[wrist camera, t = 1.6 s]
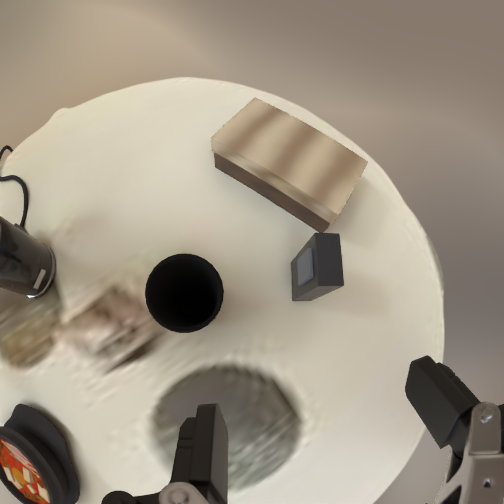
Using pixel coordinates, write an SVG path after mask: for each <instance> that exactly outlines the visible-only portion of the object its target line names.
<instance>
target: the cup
mask: <svg viewBox="0 0 504 504" xmlns="http://www.w3.org/2000/svg"><path fill="white" fill-rule="evenodd" d="M223 293H224V290H223V284H222V280H221V278H220V276H219V273H218V272H217V270H216V269H215V268H214V267H213V265H212V264H210V263H209V262H208V261H207V260H205V259H203V258H201V257H199V256H197V255H192V254H176V255H173V256H170V257H168V258H166V259H164V260H162V261H161V262H160V263H159V264H158V265H157V266H156V267H155V268H154V269H153V271H152V272H151V274H150V275H149V278H148V280H147V283H146V290H145V297H146V304H147V306H148V309H149V312H150V313H151V315H152V316H153V318H154V319H155V320H156V321H157V322H158V323H159V324H160V325H161V326H163V327H165V328H167V329H169V330H170V331H174V332H179V333H190V332H194V331H197V330H200V329H202V328H204V327H205V326H207V325H208V324H209V323H210V322H211V321H213V320H214V319H215V317H216V316H217V314H218V312H219V311H220V308H221V305H222V302H223Z"/></svg>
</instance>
